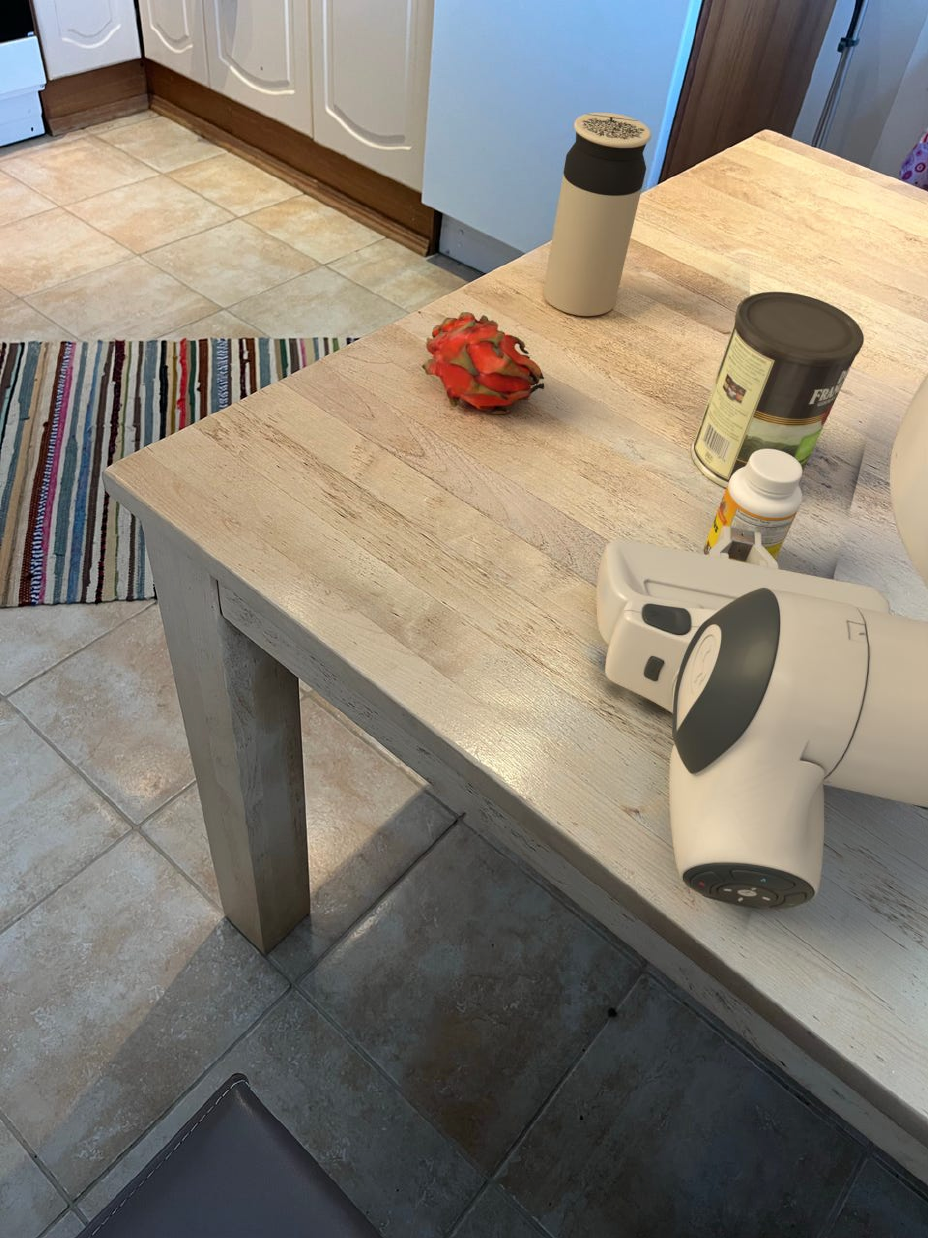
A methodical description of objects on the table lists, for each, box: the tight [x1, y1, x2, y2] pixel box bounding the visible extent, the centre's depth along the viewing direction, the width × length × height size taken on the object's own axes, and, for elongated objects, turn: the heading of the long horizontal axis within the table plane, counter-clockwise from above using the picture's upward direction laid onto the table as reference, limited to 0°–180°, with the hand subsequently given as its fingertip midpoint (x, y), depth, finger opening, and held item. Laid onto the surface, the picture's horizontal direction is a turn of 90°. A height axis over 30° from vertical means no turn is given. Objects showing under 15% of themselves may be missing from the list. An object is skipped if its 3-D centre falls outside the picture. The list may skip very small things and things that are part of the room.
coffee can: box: [690, 291, 865, 489], centre depth 82 cm, size 10×10×14 cm
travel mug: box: [542, 112, 652, 317], centre depth 97 cm, size 8×8×18 cm
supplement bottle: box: [702, 449, 804, 562], centre depth 73 cm, size 6×6×10 cm
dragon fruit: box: [421, 311, 549, 415], centre depth 87 cm, size 8×8×12 cm
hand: (738, 535), depth 72 cm, fingers closed
